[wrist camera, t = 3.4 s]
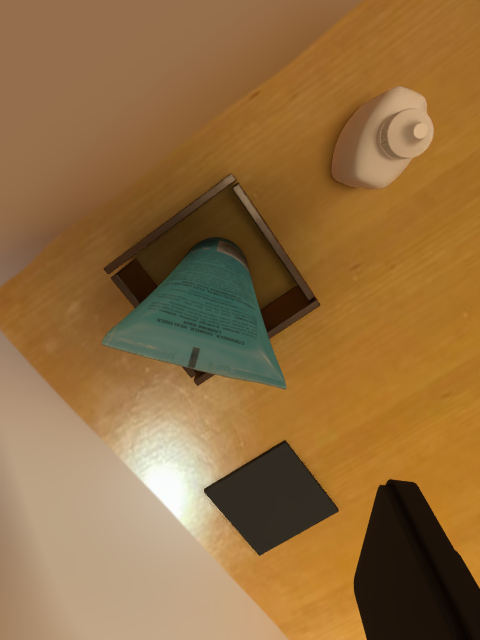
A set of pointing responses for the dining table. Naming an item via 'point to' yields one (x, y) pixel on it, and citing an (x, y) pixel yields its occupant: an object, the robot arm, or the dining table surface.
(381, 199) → the dining table surface
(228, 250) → the tube
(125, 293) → the tube holder
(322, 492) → the mat
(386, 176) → the eye dropper bottle
